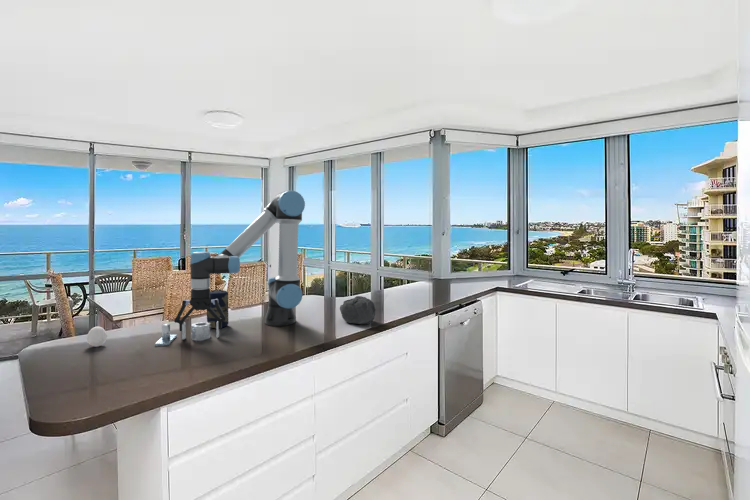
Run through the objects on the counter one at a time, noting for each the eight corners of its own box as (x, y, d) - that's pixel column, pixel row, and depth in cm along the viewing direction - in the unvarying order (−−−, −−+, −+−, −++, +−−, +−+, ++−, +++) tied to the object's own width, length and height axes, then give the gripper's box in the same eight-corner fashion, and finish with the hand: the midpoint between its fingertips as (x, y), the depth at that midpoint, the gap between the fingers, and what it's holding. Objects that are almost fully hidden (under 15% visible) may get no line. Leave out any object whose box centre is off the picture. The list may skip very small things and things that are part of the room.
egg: (89, 344, 149) (89, 325, 149) (109, 343, 152) (108, 323, 151) (84, 349, 143) (84, 329, 143) (104, 347, 146) (104, 327, 145)
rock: (332, 298, 192) (353, 289, 202) (336, 323, 195) (356, 313, 206) (361, 306, 177) (382, 295, 188) (365, 333, 180) (385, 321, 191)
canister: (220, 330, 173) (220, 291, 172) (202, 328, 175) (202, 290, 174) (232, 324, 183) (232, 288, 182) (215, 323, 185) (214, 287, 183)
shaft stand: (176, 336, 162) (176, 320, 161) (168, 345, 150) (168, 328, 150) (163, 337, 161) (163, 321, 160) (154, 346, 149) (154, 328, 149)
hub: (211, 335, 165) (211, 321, 164) (208, 340, 158) (208, 326, 158) (194, 336, 163) (193, 322, 163) (190, 341, 156) (190, 326, 156)
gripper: (232, 286, 166) (232, 333, 167) (170, 287, 160) (171, 336, 161) (230, 289, 159) (230, 338, 160) (165, 290, 152) (166, 341, 154)
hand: (201, 337), depth 160 cm, fingers open, 13 cm apart
